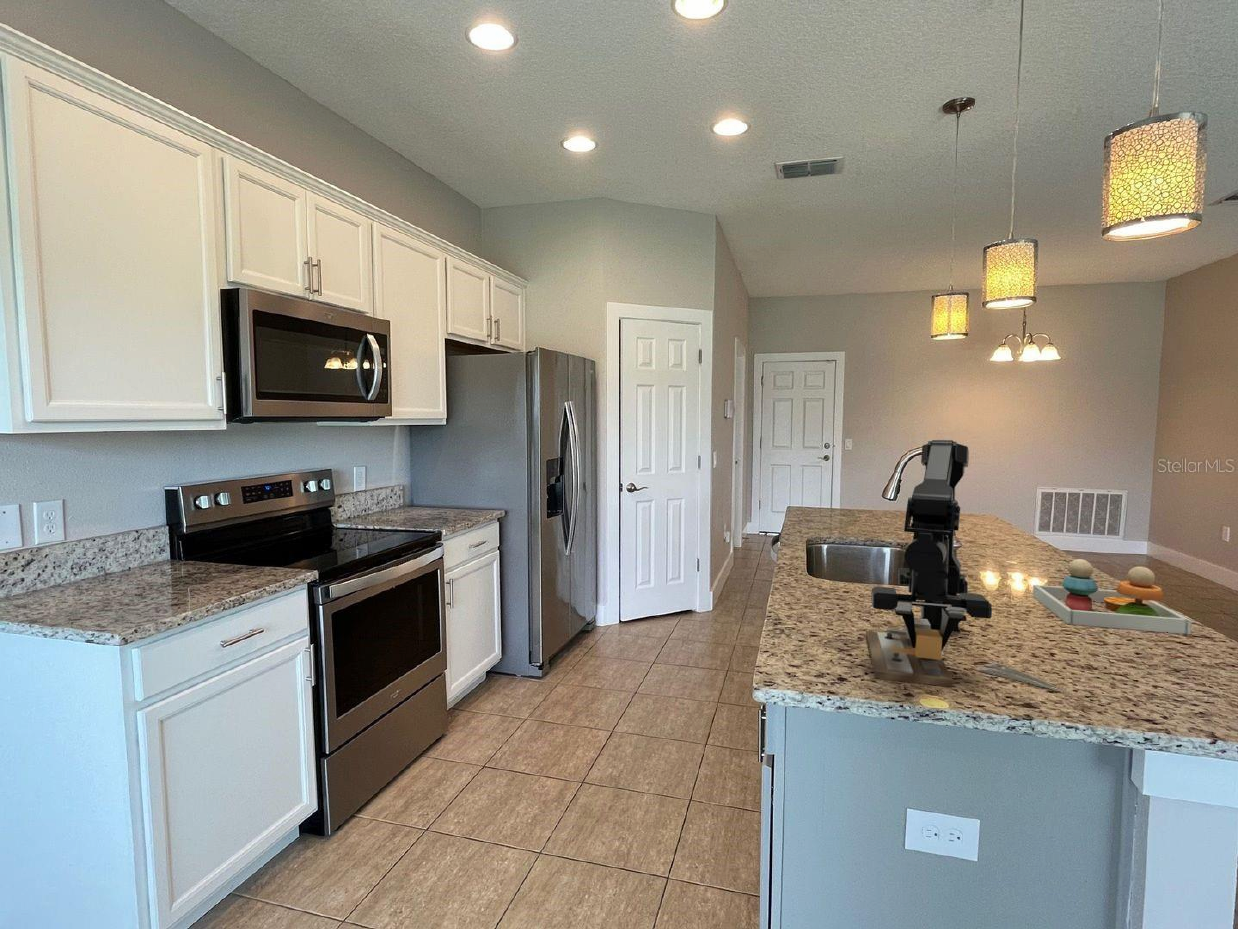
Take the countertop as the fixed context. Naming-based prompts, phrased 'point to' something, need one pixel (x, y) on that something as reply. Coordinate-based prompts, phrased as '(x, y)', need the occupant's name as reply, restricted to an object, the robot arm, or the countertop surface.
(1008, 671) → the grey tweezers
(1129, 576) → the colourful wooden stacking toy
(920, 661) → the board
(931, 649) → the orange block with tab
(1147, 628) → the parts tray
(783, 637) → the countertop surface
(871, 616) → the countertop surface
